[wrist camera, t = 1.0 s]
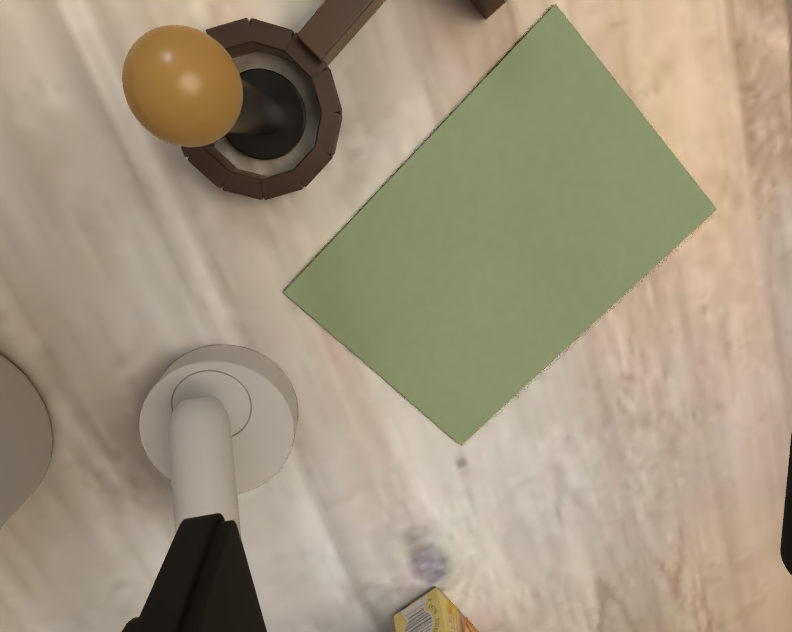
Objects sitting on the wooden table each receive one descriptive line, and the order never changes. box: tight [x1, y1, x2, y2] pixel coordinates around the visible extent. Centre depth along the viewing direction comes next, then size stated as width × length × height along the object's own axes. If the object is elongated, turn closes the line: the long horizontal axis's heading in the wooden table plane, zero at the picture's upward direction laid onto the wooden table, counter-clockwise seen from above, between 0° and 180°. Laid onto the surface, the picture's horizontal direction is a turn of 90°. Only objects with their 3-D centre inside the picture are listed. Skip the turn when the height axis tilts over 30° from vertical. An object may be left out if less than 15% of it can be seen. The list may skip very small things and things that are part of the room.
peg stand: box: [122, 25, 306, 159], centre depth 21 cm, size 4×4×16 cm
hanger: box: [181, 0, 507, 200], centre depth 26 cm, size 18×10×4 cm, turn 136°
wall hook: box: [139, 345, 298, 537], centre depth 29 cm, size 9×10×10 cm
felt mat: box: [283, 4, 716, 445], centre depth 32 cm, size 15×21×1 cm
